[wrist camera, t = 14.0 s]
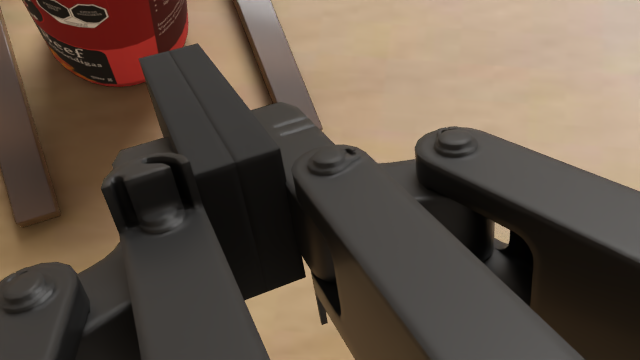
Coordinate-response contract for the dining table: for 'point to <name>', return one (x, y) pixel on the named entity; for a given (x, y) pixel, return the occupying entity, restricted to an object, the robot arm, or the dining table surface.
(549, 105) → the dining table surface
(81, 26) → the canned food
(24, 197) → the walnut frame
